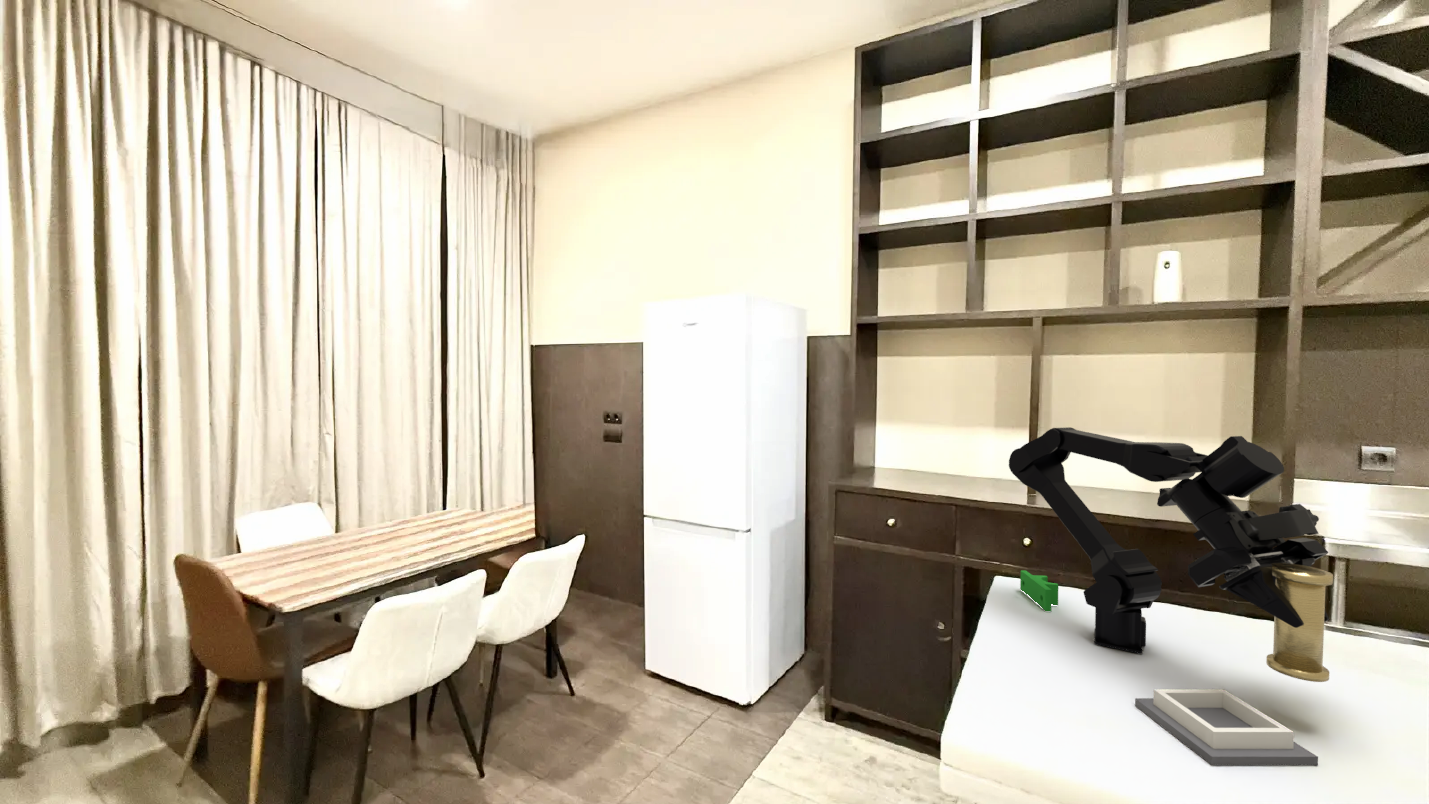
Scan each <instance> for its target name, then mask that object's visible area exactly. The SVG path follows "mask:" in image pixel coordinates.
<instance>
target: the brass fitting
mask: <svg viewBox="0 0 1429 804" xmlns="http://www.w3.org/2000/svg"><path fill="white" fill-rule="evenodd" d="M1272 575H1273V576H1275V577H1276V586H1277V587H1278V589H1279V590H1280V591H1281V592H1282V594H1283V595H1284V596H1285V598H1286V599H1287V600H1288V602H1289V603H1290V604H1291V606H1292V607H1293V608H1294V609H1295V611H1296V612H1297V614H1298V615H1299V617H1300V618H1301V620H1302V621H1303V623H1304V625H1303V626H1300V627H1298V628H1295V627H1293V626H1291V625H1289V624H1287V623H1286V622H1284V621H1282V620H1280V619H1279V618H1277V617H1275V616H1273V617H1274V622H1273V623H1274V624H1273V650H1272V651H1273V652H1272V653H1269V654H1267V655H1266V661H1265V662H1266V665H1267V666H1268V667H1269V668H1270V669H1272V670H1274V671H1275V672H1277V673H1279V674H1282V675H1285V676H1287V677H1291V678H1294V679H1297V680H1300V681H1301V680H1302V681H1307V682H1314V683H1323V682H1328V681H1329V680H1330V670H1329V669H1328V668H1326V666H1324V665H1323V664H1324V663H1323V661H1324V659H1323V658H1324V638H1325V637H1324V635H1325V634H1324V633H1325V622H1324V613H1325V611H1326V608H1325V607H1326V587H1327V586H1332V585H1333V583H1334V574H1333V573H1332V572H1330V571H1327V570H1324V569H1321V568H1318V567H1313V566H1311V567H1309V566H1304V565H1298V564H1290V563H1272Z"/></svg>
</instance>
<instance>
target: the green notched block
mask: <svg viewBox="0 0 1429 804" xmlns="http://www.w3.org/2000/svg"><path fill="white" fill-rule="evenodd" d="M1048 577H1049V576H1047V575H1039V574H1036V575H1035V574H1034V575H1033V574H1032V573H1030V572H1029V571H1028V570H1023V569H1022V570H1020V581H1019V582H1020V584H1019V585H1020V586H1019V587H1020V588H1019V589H1021V590H1022V591H1024V592H1025V593H1026V594H1028V595H1029V596H1030V597H1031V598H1032V599H1033V600H1034V601H1035V602H1037V603H1038V604H1039V605H1040V606H1041V607H1042V608H1043V609H1044V610H1045V611H1051V612H1052V606H1051V604H1053V605H1058V606H1059V584H1058V583H1057V582H1056V583H1055V582H1054V583H1053V582H1049V579H1048ZM1045 611H1044V612H1045Z"/></svg>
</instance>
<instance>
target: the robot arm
mask: <svg viewBox="0 0 1429 804" xmlns="http://www.w3.org/2000/svg"><path fill="white" fill-rule="evenodd" d="M1071 453H1072V454H1077V455H1080V456H1085V457H1087V458H1092V459H1097V460H1100V461H1104V462H1109V463H1113V464H1116V465H1119V466H1120V467H1122V468H1124V469H1125V470H1126V471H1128V472H1129V473H1131V474H1133V475H1134V476H1137V477H1140V478H1142V479H1144V480H1145V481H1148V482H1153V483H1158V482H1159V483H1160V482H1174V481H1178V482H1177V483H1176V484H1175V485H1173V486H1172V487H1162V488H1159V491H1158V492H1159V496H1158V497H1157V503H1156V505H1157V506H1158V507H1171V506H1173V507H1174V506H1177V508H1178V509H1179V510H1180V511H1181V512H1182V514H1183V515H1184V516H1185V517H1186V519H1188V520H1189V521H1190V522H1191V524H1192V525H1193V526H1194V527H1195V528H1196V530H1197V531H1195V532H1194V533H1193V534H1192V535H1193V536H1194V537H1195V539H1196V540H1197V541H1204V540H1205V541H1206V542H1208V543H1209V544H1210V546H1211V547H1212V548H1213V549H1212V550H1211V551H1209V552H1207V553H1206V554H1204V555H1203V556H1201V557H1199V558H1197V559H1196V560H1194V561H1193V562H1190V563H1189V564H1188V565H1187V575H1188V576H1189V578H1190V579H1191V580H1192V582H1193V583H1194V584H1195V585H1196V586H1197V588H1202V587H1203V588H1204V587H1209V586H1213V585H1215V584H1216V578H1218V577H1220V576H1222V575H1224V576H1223V579H1224V580H1225V581H1226V582H1224V583H1222V584H1221V585H1219V589H1221V590H1223V591H1224V590H1225V591H1228V592H1229V593H1231V594H1233V595H1236V596H1237V597H1239V598H1241V599H1243V600H1245V601H1247V602H1249V603H1251V604H1253V605H1254V606H1255V607H1258V608H1260V609H1262V610H1263V611H1265V612H1267V613H1269V614H1270V615H1272V616H1273V617H1274V616H1275V617H1277V618H1279V619H1280V620H1282V621H1284V622H1286V623H1287V624H1289V625H1291V626H1293V627H1295V628H1298V627H1300V626H1303V625H1304V623H1303V621H1302V620H1301V618H1300V617H1299V615H1298V614H1297V612H1296V611H1295V609H1294V608H1293V607H1292V606H1291V604H1290V603H1289V602H1288V600H1287V599H1286V598H1285V596H1284V595H1283V594H1282V592H1281V591H1280V590H1279V589H1278V587H1277V586H1276V577H1275V576H1273V575H1272V563H1290V564H1298V565H1304V566H1309V567H1312V565H1314V564H1315V562H1316V561H1317V560H1318V559H1321V558H1322V557H1324V556H1326V555H1328V554H1329V551H1328V550H1327V549H1326V548H1325V547H1324V546H1323V545H1322V544H1321V543H1320V542H1319V541H1318V540H1317V539H1311V538H1309V537H1308V538H1307V537H1305V535H1307V536H1312V535H1319V531H1318V529H1317V528H1316V526H1317V522H1319V520H1320V518H1319V516H1318V515H1316V514H1313V513H1312V511H1311V509H1310V508H1309V509H1307V508H1306V507H1305V506H1303V505H1302V504H1301V503H1296V504H1295V503H1294V504H1290V505H1286V506H1284V505H1283V506H1280V507H1279V508H1278V512H1275V513H1270V514H1265V515H1258V514H1257V513H1256V512H1255V511H1253V510H1252V511H1251V510H1248V509H1247V510H1241V508H1239V506H1237V505H1236V503H1235V502H1234V501H1233V500H1232V499H1231V498H1230V497H1235V498H1240V499H1243V498H1246V497H1248V496H1250V495H1252V494H1253V493H1254V492H1256V491H1257V490H1259V489H1261V488H1262V487H1264V486H1265V485H1266V484H1268V483H1270V482H1271V481H1272V480H1274V479H1276V478H1277V477H1279V476H1280V475H1282V474H1283V473H1284V472H1285V467H1284V465H1283V463H1282V461H1281V460H1280V459H1279V458H1278V457H1277V456H1276V455H1275V454H1274V453H1273V452H1271V451H1267V449H1265V448H1263V447H1262V446H1259V445H1257V444H1255V443H1253V442H1250V441H1248V440H1247V439H1246V438H1244V437H1243V436H1242V435H1235V436H1233V435H1232V436H1229V437H1228V438H1227V439H1225V440H1224V441H1223V442H1222V444H1220V446H1218V447H1217V448H1216V449H1215V450H1213V451H1212V452H1211V453H1210V454H1208V455H1207V454H1203V453H1200V452H1197V451H1194V448H1193V447H1192V446H1190V445H1189V444H1186V443H1183V442H1157V441H1155V442H1153V441H1152V442H1149V441H1148V442H1147V441H1145V442H1143V441H1133V440H1127V439H1121V438H1117V437H1112V436H1108V435H1104V434H1098V433H1093V432H1088V431H1083V430H1080V429H1079V430H1078V429H1076V428H1073V427H1069V426H1068V427H1066V426H1065V427H1052V428H1049V429H1048V430H1047V431H1045V432H1044V433H1043V434H1041V436H1039V437H1037V438H1035V439H1033V440H1030V441H1029V442H1026V443H1025V444H1024V445H1022V446H1021V447H1020V448H1016V449H1014V450H1013V451H1012V452H1011V453H1010V456H1009V459H1008V468H1009V470H1010V472H1011V473H1012V474H1013V476H1015V478H1017V479H1018V480H1019V481H1020V483H1022V485H1024V486H1026V487H1028V488H1030V489H1031V490H1034V491H1035V492H1037V493H1039V494H1040V495H1041V497H1042V498H1043V499H1044V501H1045V502H1046V503H1047V504H1048V506H1049V507H1050V508H1051V510H1052V511H1053V512H1054V513H1055V515H1056V516H1057V517H1058V519H1059V520H1060V521H1061V523H1062V524H1063V525H1064V527H1066V529H1067V530H1068V532H1069V534H1071V536H1073V539H1075V541H1076V542H1077V543H1078V545H1079V546H1080V547H1081V549H1082V550H1083V551H1084V552H1085V554H1086V555H1087V556H1088V558H1089V559H1090V566H1091V575H1092V577H1093V579H1094V581H1095V583H1093V584H1092V585H1090V586H1089V587H1087V588H1085V589H1084V590H1083V595H1084V599H1085V603H1086V604H1087V605H1089V606H1091V607H1093V608H1094V609H1095V613H1094V614H1095V615H1094V620H1095V621H1094V626H1095V627H1094V629H1093V631H1094V632H1093V633H1094V634H1093V644H1095V645H1098V646H1102V647H1108V648H1111V649H1116V650H1122V651H1127V652H1131V653H1134V654H1140V655H1141V654H1143V648H1145V647H1147V645H1146V644H1147V643H1146V642H1147V620H1146V617H1145V616H1143V613H1142V609H1150V608H1151V607H1152V605H1153V603H1154V601H1155V600H1156V599H1158V598H1159V597H1160V595H1161V592H1162V584H1163V582H1162V579H1161V578H1160V576H1159V574H1158V573H1157V571H1158V572H1159V569H1158V568H1157V567H1156V566H1154V565H1153V564H1152V563H1151V562H1150V561H1149V560H1148V558H1147V556H1146V555H1145V554H1144V552H1142V551H1141V549H1139V548H1135V549H1134V548H1133V549H1125V548H1124V547H1122V546H1120V544H1118V543H1117V541H1116V540H1115V539H1114V538H1113V537H1112V535H1111V534H1110V533H1109V531H1108V530H1107V529H1106V528H1105V527H1104V525H1103V524H1102V523H1101V522H1100V521H1099V520H1098V519H1097V517H1096V515H1094V513H1093V512H1092V511H1091V510H1090V509H1089V508H1088V506H1087V505H1086V503H1084V501H1083V500H1082V499H1081V498H1080V497H1079V495H1078V494H1077V493H1076V492H1075V491H1074V489H1073V488H1072V487H1071V486H1070V484H1069V483H1068V482H1067V481H1066V476H1065V468H1064V465H1063V463H1064V462H1065V461H1067V460H1068V459H1069V457H1070V455H1071ZM1196 473H1199V474H1198V475H1196V476H1195V474H1196ZM1194 476H1195V477H1194ZM1192 477H1193V478H1192ZM1302 536H1304V537H1302ZM1294 537H1299V538H1294ZM1290 538H1292V539H1290ZM1285 539H1287V540H1285ZM1326 611H1327V610H1325V613H1324V623H1325V622H1328V621H1329V620H1330V617H1329V616H1328V613H1327V612H1326Z"/></svg>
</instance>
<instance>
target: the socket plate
mask: <svg viewBox="0 0 1429 804" xmlns="http://www.w3.org/2000/svg"><path fill="white" fill-rule="evenodd" d="M1134 706H1135V707H1136V708H1138V709H1139V710H1140V711H1141V712H1143V713H1144V714H1145V715H1147V716H1148V717H1149V718H1151V720H1153V721H1154V722H1155V723H1157V724H1158V725H1159V726H1160V727H1162V728H1163V729H1165V730H1166V731H1167V732H1168V733H1169V734H1171V735H1172V736H1174V737H1175V738H1176V739H1177V740H1179V741H1180V742H1181V743H1183V744H1184V745H1185V746H1186V747H1188V749H1190V750H1191V751H1193V752H1194V753H1195V754H1197V755H1198V756H1199V757H1201V758H1202V759H1203V760H1205V762H1207V763H1208V764H1209V765H1211V766H1319V765H1318V764H1319V756H1317V755H1316V754H1314V752H1311V751H1309V749H1306V748H1305V747H1303V746H1302V745H1300V744H1298V743H1297V742H1295V741H1294V740H1295V739H1294V737H1295V735H1294V734H1295V733H1294V731H1293V730H1291V729H1289V728H1288V727H1286V726H1285V725H1283V724H1281V723H1280V722H1278V721H1276V720H1275V719H1273V718H1272V717H1270V716H1269V715H1266V714H1265V713H1263V712H1261V710H1259V709H1256V708H1255V707H1254V706H1252V705H1250V704H1249V703H1247V702H1245V701H1243V700H1242V699H1240V698H1239V697H1237V696H1236V695H1233V694H1232V693H1231V692H1228V691H1226V690H1225V689H1220V688H1219V689H1213V688H1212V689H1211V688H1209V689H1204V688H1203V689H1197V688H1195V689H1194V688H1193V689H1188V688H1187V689H1180V688H1179V689H1173V688H1172V689H1168V688H1167V689H1164V688H1163V689H1161V688H1159V689H1157V688H1156V689H1155V688H1154V689H1153V698H1149V697H1148V698H1143V697H1142V698H1137V697H1136V698H1134Z"/></svg>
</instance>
